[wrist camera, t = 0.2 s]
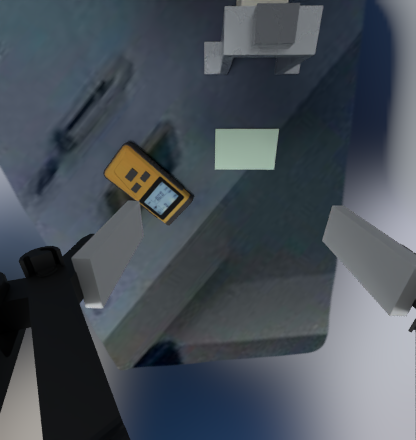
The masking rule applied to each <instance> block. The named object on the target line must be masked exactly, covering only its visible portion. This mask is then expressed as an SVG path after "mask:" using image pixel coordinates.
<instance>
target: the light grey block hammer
mask: <svg viewBox="0 0 416 440" xmlns="http://www.w3.org/2000/svg"><path fill="white" fill-rule="evenodd" d="M257 3H288V0H237V3H236V6H256V5H257Z"/></svg>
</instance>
